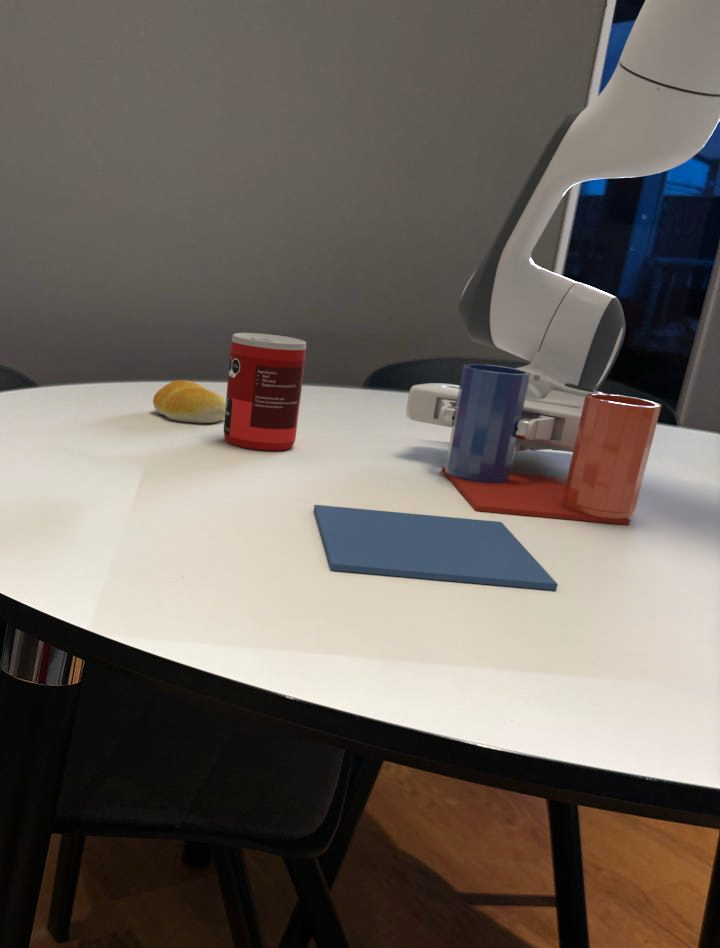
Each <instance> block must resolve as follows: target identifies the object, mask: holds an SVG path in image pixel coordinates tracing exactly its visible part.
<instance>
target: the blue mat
mask: <svg viewBox="0 0 720 948" xmlns="http://www.w3.org/2000/svg"><path fill="white" fill-rule="evenodd" d="M313 512H314V515H315V519H316V522H317V526H318V529H319V533H320V536H321V539H322V544H323V547H324V551H325V553H326V557H327V560H328V563H329V567H330V570H331V571H334V572H344V573H345V572H346V573H356V574H357V573H358V574H369V575H380V576H389V577H391V576H392V577H402V578H403V577H404V578H413V579H424V580H435V581H436V580H437V581H447V582H456V583H457V582H459V583H469V584H481V585H491V586H501V587H502V586H503V587H512V588H524V589H535V590H545V591H546V590H547V591H557V589H558V583H557V581H555V579H554V578H553V577H552V576H551V575H550V574H549V573H548V572H547V570H545V568H544V567H543V566H542V565H541V564H540V563H539V562H538V561H537V560H536V558H535V557H534V556H533V555H532V554H531V553H530V552H529V551H528V550H527V548H526V547H525V546H524V545H523V544H522V543H521V542H520V541H519V540H518V538H516V536H515V535H514V534H513V533H512V532H511V531H510V530H509V529H508V527H506V525H505V524H504V523H503V522H502V521H495V520H484V519H483V520H482V519H475V518H474V519H473V518H465V517H464V518H463V517H452V516H451V517H450V516H443V515H430V514H429V515H428V514H421V513H409V512H399V511H387V510H377V509H366V508H356V507H354V508H353V507H346V506H345V507H343V506H335V505H334V506H333V505H322V504H314V506H313Z"/></svg>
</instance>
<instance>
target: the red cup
mask: <svg viewBox="0 0 720 948" xmlns="http://www.w3.org/2000/svg"><path fill="white" fill-rule="evenodd" d="M661 408H662V404H661V403H658V402H657V401H656V402H655V401H652V400H648V399H644V398H639V397H633V396H626V395H620V394H612V393H603V394H598V393H592V394H587V395H586V396H585V401H584V405H583V409H582V414H581V418H580V423H579V427H578V432H577V436H576V441H575V445H574V450H573V452H572V455H571V459H570V463H569V468H568V473H567V476H566V478H567V481H566V486H565V490H564V495H563V501H562V504H563V506H565V507H566V508H568V509H570V510H573V511H576V512H579V513H582V514H586V515H591V516H596V517H603V518H612V519H625V518H628V519H630V518H633V517H634V515H635V511H636V507H637V504H638V500H639V495H640V491H641V488H642V483H643V480H644V475H645V473H646V467H647V464H648V461H649V456H650V452H651V448H652V445H653V441H654V435H655V432H656V428H657V424H658V420H659V416H660V413H661V410H662V409H661Z"/></svg>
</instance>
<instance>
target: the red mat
mask: <svg viewBox="0 0 720 948" xmlns="http://www.w3.org/2000/svg"><path fill="white" fill-rule="evenodd" d="M445 469H446V465H442V466H441V472H442V473H443V474H444V475H445V476H446V477H447V479H448V480H449V481H450V482H451V483H452V484H453V486H454V487H455V488H456V489H457V490H458V492H459V493H460V494H461V496H463V497H464V499H465V500H466V502H467V503H469V504H470V505H471V507H472V508H473V509H474V511H476V512H485V513H496V514H507V515H517V516H528V517H537V518H538V517H539V518H550V519H557V520H558V519H560V520H570V521H580V522H581V521H582V522H591V523H602V524H612V525H624V526H629V525H630V522H631V519H630V518H625V519H612V518H603V517H596V516H591V515H586V514H582V513H579V512H576V511H573V510H570V509H568V508H566V507H565V506H563V504H562V501H563V495H564V490H565V486H566V481H567V477H563V476H552V475H543V474H532V473H531V474H530V473H521V472H520V473H519V472H512V471H511V474H510V478H509V481H507V482H503V483H485V482H476V481H470V480H466V479H461V478H458V477H455V476H452V475H450V474H448V473H447V472H446V471H445Z"/></svg>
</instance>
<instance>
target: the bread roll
mask: <svg viewBox="0 0 720 948" xmlns="http://www.w3.org/2000/svg"><path fill="white" fill-rule="evenodd" d="M152 405H153V407H154V409H155V411H156V412H157V413H158V414H160V415H162V416H165V417H166V418H167V419H169V420H172V421H176V422H182V423H191V424H214V423H218V422H220V421H222V420H225V408H226V399H225V398H224V397H223V396H222V395H220V394H219V393H216V392H215V391H212V390H210V389H207V388H205V386H203V385H200V384H199V383H196V382H194V381H192V380H191V381H190V380H185V379H183V380H182V379H180V380H174V381H171V382H169V383H166V385H164V386H163V387H161V388H159V390H157V392H155V394H154V395H153V399H152Z"/></svg>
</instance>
